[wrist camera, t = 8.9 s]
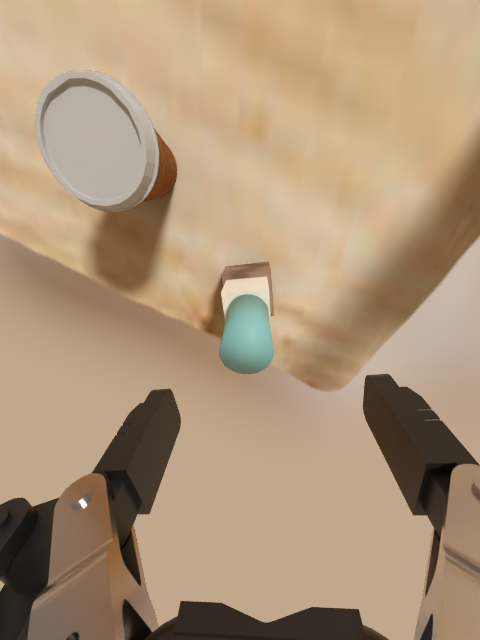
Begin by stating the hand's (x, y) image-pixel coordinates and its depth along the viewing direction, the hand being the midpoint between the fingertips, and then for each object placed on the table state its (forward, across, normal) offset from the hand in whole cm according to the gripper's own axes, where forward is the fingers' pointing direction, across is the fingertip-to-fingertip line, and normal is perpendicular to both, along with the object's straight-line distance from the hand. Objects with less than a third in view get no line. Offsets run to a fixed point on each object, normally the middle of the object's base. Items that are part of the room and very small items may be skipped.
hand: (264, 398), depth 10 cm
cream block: (+21, +2, +3) cm, 21 cm away
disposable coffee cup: (+26, +12, -13) cm, 32 cm away
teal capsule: (+16, +2, +3) cm, 16 cm away
